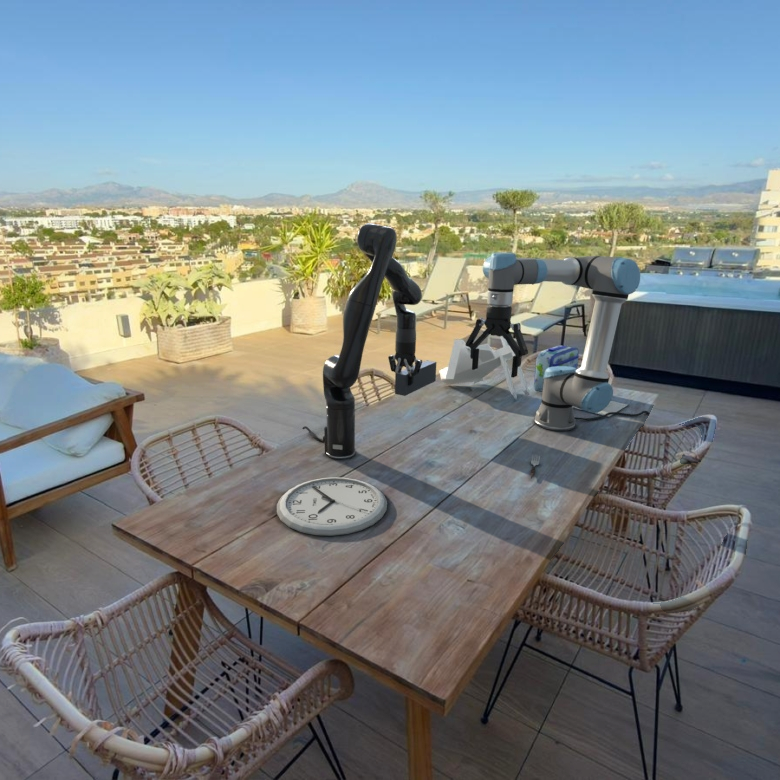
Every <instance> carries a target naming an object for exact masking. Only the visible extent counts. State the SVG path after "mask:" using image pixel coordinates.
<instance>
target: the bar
mask: <svg viewBox="0 0 780 780" xmlns="http://www.w3.org/2000/svg"><path fill="white" fill-rule="evenodd" d="M413 366H414V368H415V364H413ZM394 375H395V376H394V382H395V383H394V394H395V395H399V396H402V397H406V396H408V395H410V394H412V393H414V392H417V391H419V390H420V389H423V388H425V387H426V386H429V385H430V384H432V383H435V382H436V379H437V361H433V360H424V361H422V365H421V368H420V371H419V374H417V375H415V376H414V383H413V384H412V385H411V386H408V376H409V375H408V371H407V369H406V368H405V369H402V370H401V371H400V372H397V373H395V372H394Z"/></svg>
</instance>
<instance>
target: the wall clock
mask: <svg viewBox="0 0 780 780" xmlns="http://www.w3.org/2000/svg"><path fill="white" fill-rule="evenodd" d="M387 509H388V500H387V498H386V496H385V494H384V493H383V492H382V491H381V490H380V489H379V488H377V487H376V486H374V485H372V484H371V483H369V482H365V481H362V480H359V479H355V478H349V477H338V476H337V477H335V476H333V477H332V476H331V477H322V478H317V479H312V480H307V481H305V482H302V483H299V484H297V485H295V486H293V487H292V488H290V489H288V490H287V491H286V492H285V493H284V494H283V495H281V496H280V498H279V499H278V502H277V503H276V515H277V517H278V518H279V520H280V521H281V522H282V523H283V524H285V525H286V526H287V527H288V528H290V529H293V530H295V531H297V532H299V533H303V534H308V535H312V536H327V537H328V536H329V537H331V536H332V537H333V536H342V535H350V534H352V533H356V532H361V531H363V530H366V529H368V528H369V527H372V526H373V525H375V524H376V523H378V522H379V521H380V520H381V519H382V518H383V517H384V516H385V514H386V512H387Z"/></svg>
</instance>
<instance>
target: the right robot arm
mask: <svg viewBox="0 0 780 780" xmlns="http://www.w3.org/2000/svg"><path fill="white" fill-rule="evenodd" d="M482 273H483V275H484V277H485V278H487V279H488V283H487V285H488V287H487V299H486V304H488V305H486V313H485V319H484V318H482V317H481V318H477V319H476V321H475V326H474V327H473V330H472V331H471V333H470V335H469V336H468V338H467V340H466V342H465V343H466V344H465V345H466V346H468V347H470V348H471V354H470V358H471V359H472V370H475V369H477V368H478V359H479V349H478V348H477V347H478V346H479V345H482V343H483V342H484V341H485V340H486V339H487V337H489V336H497V337H500V336H503V338H504V339H506V341H507V344H508V345H509V346H510V347H511V349H512V350H513V352H514V354H515V356H513V359H512V362H511V363H512V364H511V373H510V375H511V378H512V379H514V378H515V377H518V373H517V372H518V367H519V366H520V365H521V366H522V358H523V356H526V355H528V354H529V350H528V347H527V344H526V341H525V338H524V335H523V332H522V329H521V328H522V327H521V322H516V323H512V322H511V319H512V312H513V311H512V310H513V307H512V305H513V301H514V300H513V299H514V290H515V289H514V288H515V286H518V285H536V284H537V285H538V284H542V283H543V282H551V283H552V282H553V283H554V282H555V283H556V282H557V283H561V284H564V285H567V286H575V287H579V288H584V289H588V290H592V293H591V296H592V298H593V299H594V306H593V309H592V314H591V318H590V323H589V328H588V332H587V337H586V341H585V346H584V349H583V355H582V358H581V359H582V360H581V363H580V367H579V368H577V369H576V368H575V367H568V366H555V367H549V368H547V369H546V370H545V375H544V378H543V391H542V392H541V402H540V405H539V407H538V409H537V410H536V411H535V417H534V424H535V425H536V426H537V427H539V428H542V429H544V430H549V431H556V432H567V431H572V430H574V429H575V428H576V420H579V421H594V420H599V419H605V418H606V417H608V416H607V415H610V414H613V415H620V416H626V417H639V416H641V415H643V414H646V415H650V412H649V411H648V410H642V411H640V412H638V413H626V412H620V411H618V412H609V413H606V414H605V415H600V416H599V415H598V416H595V417H580V416H579V417H578V416H575V413H574V407H577V408H580V409H582V410H581V411H583V412H587V413H593V414H596V413H597V412H600V411H602V410H603V409H604V408H605V407H607V406H608V404H609V403H610V401H612V399H613V396H614V389H613V385H611V384H610V383H609V381H610V375H609V374H608V373H607V368H608V365H609V360H610V356H611V351H612V348H613V343H614V338H615V334H616V330H617V325H618V321H619V318H620V317H619V316H620V313H621V309H622V305H623V304H624V303H625V302H627V301H628V299H629V295H632V294H634V293H635V292H636V290H637V289H638V288H639V286H640V283H641V270H640V267H639V265H638V263H637V262H636V261H635V260H633V259H631V258H627V257H622V256H601V255H589V256H588V255H587V256H578V257H575V256H574V257H573V256H569V257H566V258H564V259H555V258H554V259H552V258H534V257H533V258H530V257H517V254H516V253H514V252H493V253H492V254H491V256H489V257H487V258H486V259H485V260H484V262H483V265H482ZM483 326H485V328H486V329H485V330H483V331H482V333H481V335H479V333H480V331H481V329H482V328H483ZM510 329H511V331H512V332H513V334H512V333H511V332H510ZM478 335H479V337H478V338H477V336H478ZM512 335H514V337H513V336H512ZM514 338H515V339H514ZM476 348H477V349H476ZM580 409H579V410H580Z"/></svg>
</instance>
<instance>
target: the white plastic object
mask: <svg viewBox="0 0 780 780" xmlns="http://www.w3.org/2000/svg"><path fill="white" fill-rule="evenodd" d="M499 338H500V342H501V345H502V347H500V348H498V349H496V350H495V349H493V348H492V347H491V346H490V344H489V343H488V342H487V343H483V344H480V345H479V346H478V347H477V348H478V349H479V359H478V368H477V369H475V370H472V359H471V358H470V354H471V348H470V347H468V346H466V345H465V344H466V342H465V340H464V339H463V338H460V339H458V338H454V340H453V344H452V349H451V353H450V357H449V362H448V366H446V367H444V368H442V369H440V370H439V371H438V372H439V376H440V381H442V383H443V384H444V385H445V386H449V385H458V384H467V383H468V384H469V383H473V384H477V383H480V382H482V381H484V378H485V377H486V376H487V375H489V374H490V373H492V372H494V371H495V370H496V369H497V368H499V367H500V366H502V370H503V373H504V376H505V380H506V383H507V386H508V390H509V393H510V394H511V395H512V397H513V398H514V399H515V400H517V392H516V391H517V390H516V388H515V385H514V381H513V377H511V371H510V369H509V365H508V361H510V360H513V356H515V354H514V352H513V350H512V349H511V347H510V346H509V344H508V343H507V341H506V339H504V338H503V336H499ZM477 348H476V349H477ZM522 368H523V367H522V364H521V365H520V366H519V367H518V372H517V377H518V380H519V382H520V385H521V389H522V391H523V393H524V395H525V396H526V397H528V396H531V395H530V390H529V388H528V387H529V386H528V384H527V381H526V378H525V375H524V371H523V369H522Z"/></svg>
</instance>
